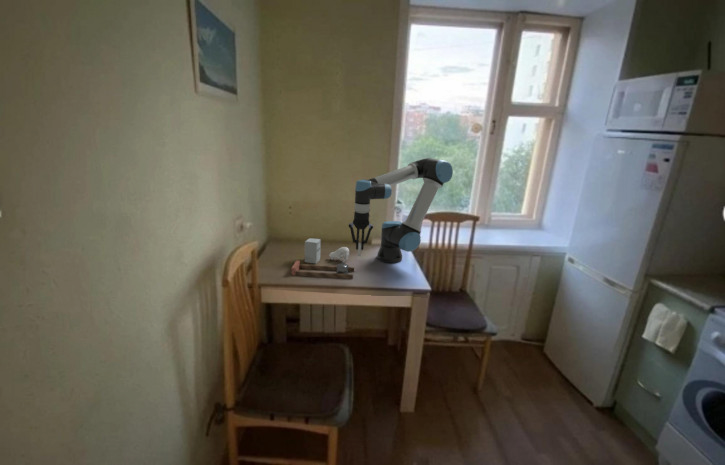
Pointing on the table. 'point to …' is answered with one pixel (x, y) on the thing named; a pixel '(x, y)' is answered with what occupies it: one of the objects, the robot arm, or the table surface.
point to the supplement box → (312, 250)
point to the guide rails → (321, 274)
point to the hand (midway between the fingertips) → (359, 255)
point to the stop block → (295, 267)
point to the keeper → (342, 268)
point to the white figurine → (340, 254)
